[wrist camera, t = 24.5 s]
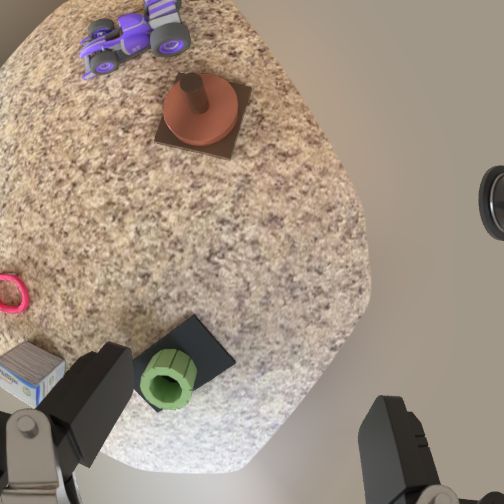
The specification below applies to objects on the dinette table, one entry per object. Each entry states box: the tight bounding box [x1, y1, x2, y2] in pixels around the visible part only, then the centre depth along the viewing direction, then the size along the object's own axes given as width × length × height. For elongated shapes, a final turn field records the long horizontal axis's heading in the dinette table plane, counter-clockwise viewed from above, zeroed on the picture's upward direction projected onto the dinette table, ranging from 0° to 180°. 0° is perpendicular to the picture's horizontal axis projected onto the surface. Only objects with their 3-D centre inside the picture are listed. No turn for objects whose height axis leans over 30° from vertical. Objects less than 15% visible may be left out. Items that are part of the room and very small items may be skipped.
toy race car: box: [79, 0, 191, 80], centre depth 29 cm, size 10×15×6 cm, turn 104°
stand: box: [154, 73, 252, 161], centre depth 29 cm, size 9×9×10 cm
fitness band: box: [0, 273, 29, 313], centre depth 35 cm, size 8×6×2 cm
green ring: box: [140, 349, 197, 410], centre depth 35 cm, size 6×6×5 cm
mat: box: [133, 315, 236, 412], centre depth 38 cm, size 14×8×1 cm, turn 128°
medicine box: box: [0, 340, 65, 408], centre depth 33 cm, size 8×4×9 cm, turn 72°
